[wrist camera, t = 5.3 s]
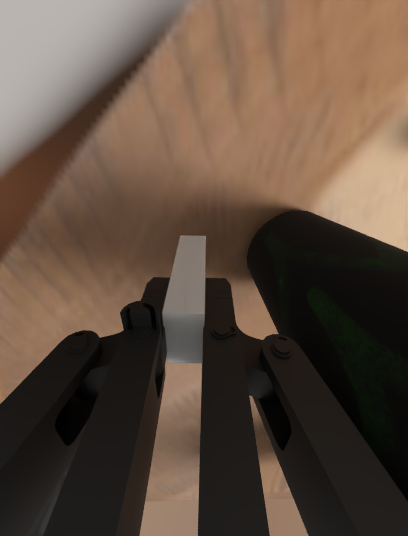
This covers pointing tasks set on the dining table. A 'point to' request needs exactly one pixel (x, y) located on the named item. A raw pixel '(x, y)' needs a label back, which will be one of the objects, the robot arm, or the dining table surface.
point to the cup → (343, 320)
